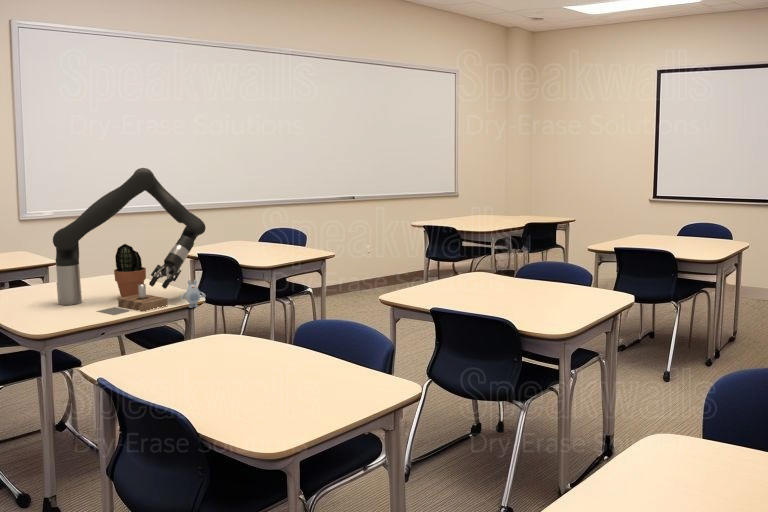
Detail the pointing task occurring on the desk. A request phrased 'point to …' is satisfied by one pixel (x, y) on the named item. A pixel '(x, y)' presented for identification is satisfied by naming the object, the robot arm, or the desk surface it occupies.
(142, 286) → the metal peg
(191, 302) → the toy figure
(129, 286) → the potted plant
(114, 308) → the rubber mat
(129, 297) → the hole block
